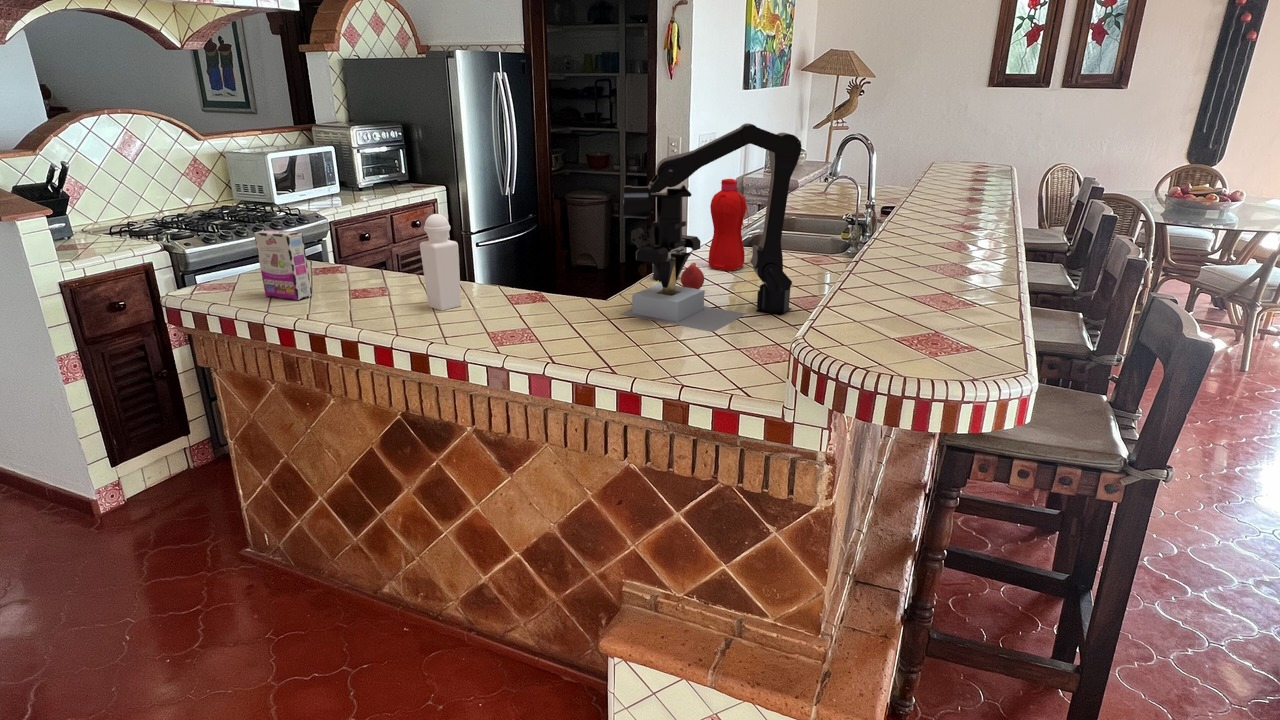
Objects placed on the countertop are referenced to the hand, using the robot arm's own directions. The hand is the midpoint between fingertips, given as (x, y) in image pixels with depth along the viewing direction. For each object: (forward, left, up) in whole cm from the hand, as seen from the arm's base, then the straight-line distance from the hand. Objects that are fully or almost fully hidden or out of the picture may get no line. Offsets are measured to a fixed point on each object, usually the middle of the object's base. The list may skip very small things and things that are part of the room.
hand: (668, 285), depth 169 cm
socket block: (0, 0, -6) cm, 6 cm away
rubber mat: (-4, 0, -6) cm, 8 cm away
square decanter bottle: (+48, +24, -7) cm, 54 cm away
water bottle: (+9, -48, -7) cm, 49 cm away
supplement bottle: (+18, -28, -7) cm, 34 cm away
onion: (+4, -18, -7) cm, 20 cm away
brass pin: (0, 0, -4) cm, 4 cm away
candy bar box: (+88, +39, -7) cm, 97 cm away
